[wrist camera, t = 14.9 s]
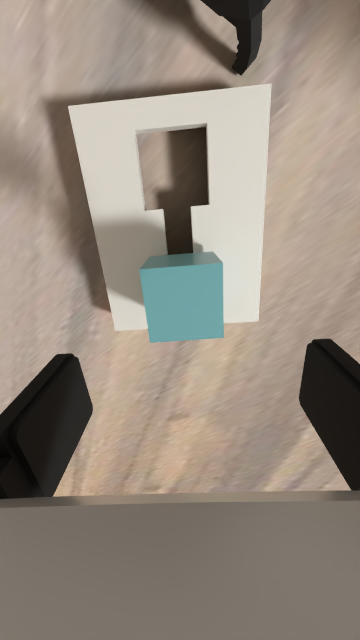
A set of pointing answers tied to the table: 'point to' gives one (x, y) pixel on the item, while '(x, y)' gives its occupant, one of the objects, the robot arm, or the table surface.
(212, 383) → the table surface
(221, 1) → the black striped sneaker
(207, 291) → the slider
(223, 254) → the keyhole deck
